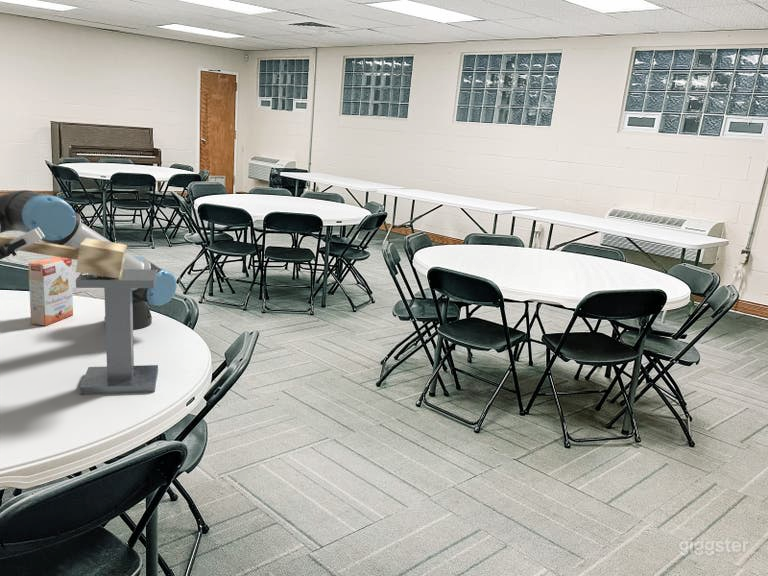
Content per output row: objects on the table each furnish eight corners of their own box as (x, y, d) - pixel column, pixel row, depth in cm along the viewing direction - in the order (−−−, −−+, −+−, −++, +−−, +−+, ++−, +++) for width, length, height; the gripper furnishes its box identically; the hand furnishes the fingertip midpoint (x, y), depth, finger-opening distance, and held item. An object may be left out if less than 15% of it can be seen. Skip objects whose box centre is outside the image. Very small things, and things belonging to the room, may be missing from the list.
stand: (79, 394, 160) (74, 280, 153) (88, 373, 173) (84, 267, 166) (154, 391, 165) (153, 281, 158) (158, 371, 178) (156, 268, 171)
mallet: (-7, 258, 149) (-4, 230, 148) (4, 251, 157) (7, 224, 156) (119, 278, 158) (123, 252, 157) (123, 270, 166) (127, 245, 165)
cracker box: (46, 326, 207) (42, 264, 202) (30, 324, 208) (26, 262, 203) (74, 315, 220) (72, 257, 215) (59, 313, 221) (56, 255, 216)
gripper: (-31, 283, 160) (55, 240, 163) (-54, 300, 146) (41, 252, 148) (-50, 258, 157) (38, 214, 160) (-76, 272, 143) (22, 224, 146)
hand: (39, 233), depth 154 cm, fingers closed on mallet, 2 cm apart
